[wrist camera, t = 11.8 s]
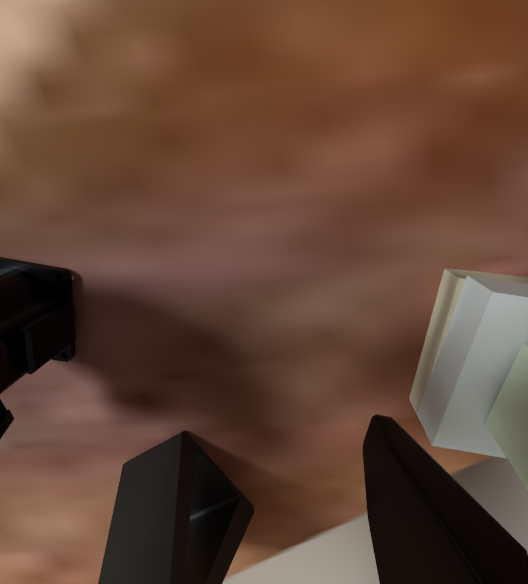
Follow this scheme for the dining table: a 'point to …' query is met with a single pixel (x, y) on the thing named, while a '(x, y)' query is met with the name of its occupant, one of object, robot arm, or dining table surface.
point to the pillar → (513, 416)
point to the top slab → (474, 364)
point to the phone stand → (174, 519)
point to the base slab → (445, 324)
